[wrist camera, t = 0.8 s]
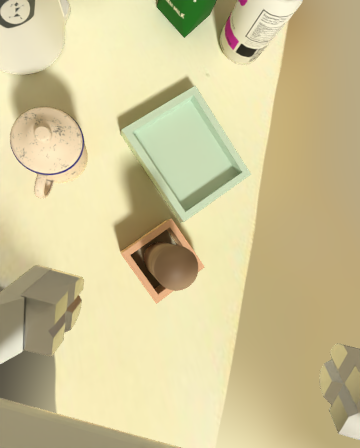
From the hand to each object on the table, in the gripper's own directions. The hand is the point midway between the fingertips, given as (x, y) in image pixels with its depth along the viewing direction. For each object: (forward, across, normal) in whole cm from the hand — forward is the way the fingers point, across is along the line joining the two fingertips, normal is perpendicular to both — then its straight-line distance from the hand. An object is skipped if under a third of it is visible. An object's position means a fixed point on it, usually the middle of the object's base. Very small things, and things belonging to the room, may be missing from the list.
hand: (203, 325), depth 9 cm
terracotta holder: (+36, +5, +17) cm, 40 cm away
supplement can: (+55, 0, -20) cm, 59 cm away
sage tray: (+44, +5, 0) cm, 44 cm away
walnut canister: (+36, +5, +17) cm, 40 cm away
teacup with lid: (+37, +24, +6) cm, 44 cm away
